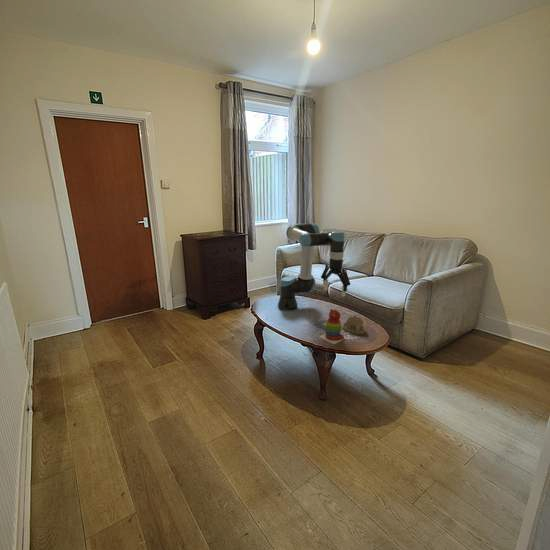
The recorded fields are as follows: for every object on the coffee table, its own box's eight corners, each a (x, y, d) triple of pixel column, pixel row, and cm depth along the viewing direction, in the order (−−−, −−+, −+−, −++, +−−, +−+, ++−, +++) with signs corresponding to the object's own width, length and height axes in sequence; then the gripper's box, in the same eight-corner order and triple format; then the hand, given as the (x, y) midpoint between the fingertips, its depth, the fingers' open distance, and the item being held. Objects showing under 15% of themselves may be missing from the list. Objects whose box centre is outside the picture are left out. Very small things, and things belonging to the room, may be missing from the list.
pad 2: (319, 337, 194) (319, 336, 194) (331, 331, 201) (331, 330, 201) (334, 344, 185) (334, 343, 185) (346, 338, 192) (346, 337, 192)
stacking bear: (345, 338, 191) (347, 311, 186) (332, 342, 186) (334, 315, 181) (333, 331, 200) (335, 305, 195) (321, 335, 195) (322, 308, 190)
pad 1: (313, 324, 211) (313, 323, 211) (324, 319, 219) (324, 319, 219) (326, 330, 203) (326, 329, 202) (338, 325, 210) (338, 324, 210)
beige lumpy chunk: (365, 327, 207) (366, 313, 204) (364, 335, 196) (365, 320, 194) (343, 324, 211) (344, 311, 208) (341, 332, 201) (342, 317, 198)
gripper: (315, 255, 187) (314, 289, 193) (349, 263, 169) (347, 300, 175) (324, 253, 192) (322, 286, 198) (358, 261, 174) (355, 297, 180)
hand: (334, 293), depth 187 cm, fingers open, 13 cm apart
